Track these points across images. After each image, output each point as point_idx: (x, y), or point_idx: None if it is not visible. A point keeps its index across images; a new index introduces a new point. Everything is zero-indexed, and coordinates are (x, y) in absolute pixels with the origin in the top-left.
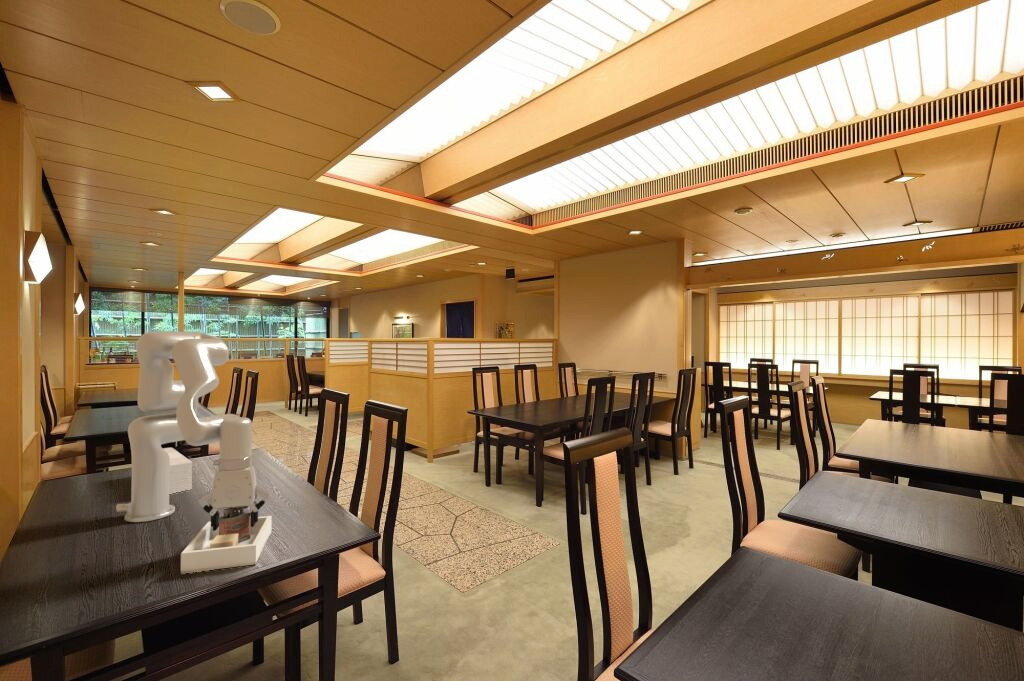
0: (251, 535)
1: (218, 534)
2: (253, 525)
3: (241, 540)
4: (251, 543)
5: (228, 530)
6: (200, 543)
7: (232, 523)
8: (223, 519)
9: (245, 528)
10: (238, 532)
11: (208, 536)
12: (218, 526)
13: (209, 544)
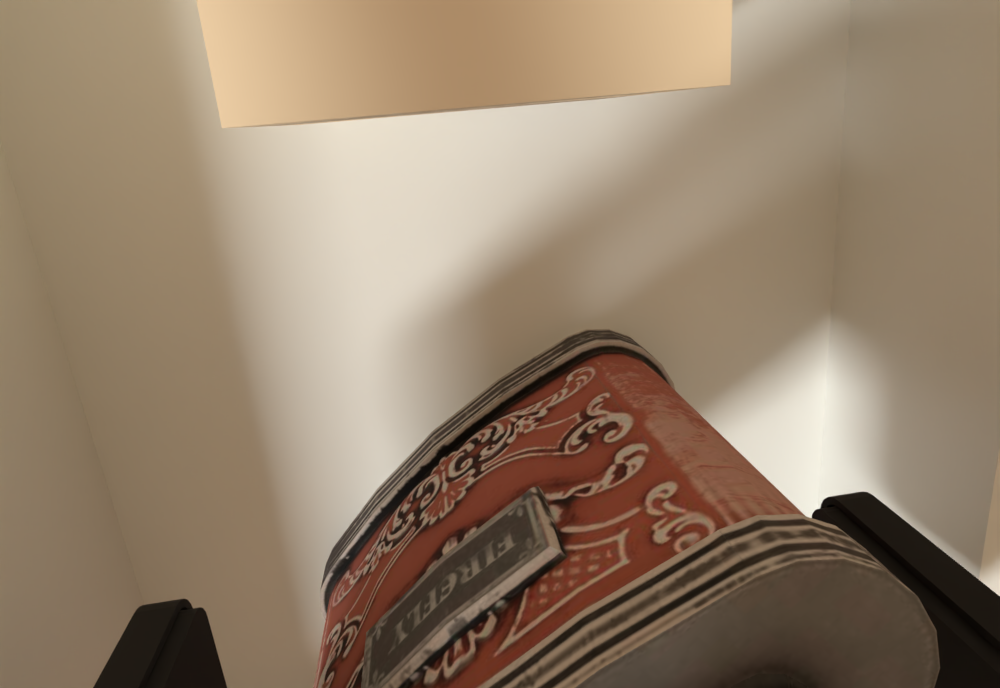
0: None
1: None
2: (144, 634)
3: (394, 479)
4: (234, 418)
5: (584, 477)
6: (910, 280)
7: (548, 592)
8: (799, 601)
9: (352, 634)
10: (434, 532)
11: None
12: None
13: (779, 450)
